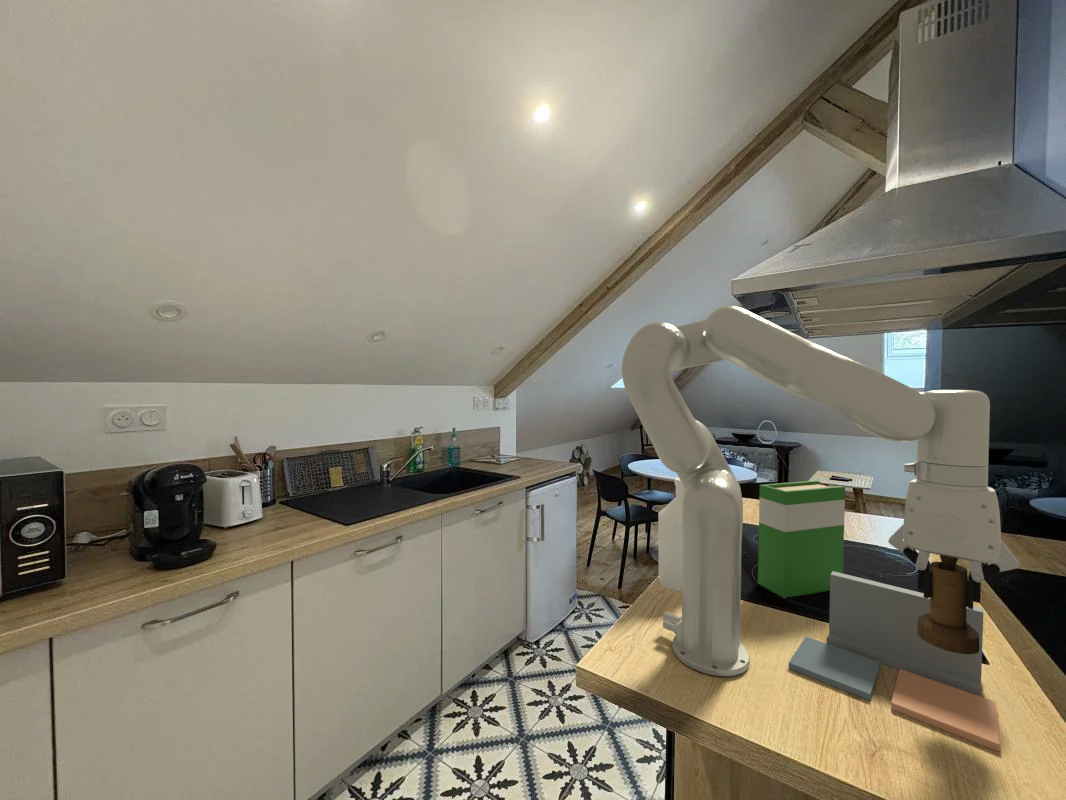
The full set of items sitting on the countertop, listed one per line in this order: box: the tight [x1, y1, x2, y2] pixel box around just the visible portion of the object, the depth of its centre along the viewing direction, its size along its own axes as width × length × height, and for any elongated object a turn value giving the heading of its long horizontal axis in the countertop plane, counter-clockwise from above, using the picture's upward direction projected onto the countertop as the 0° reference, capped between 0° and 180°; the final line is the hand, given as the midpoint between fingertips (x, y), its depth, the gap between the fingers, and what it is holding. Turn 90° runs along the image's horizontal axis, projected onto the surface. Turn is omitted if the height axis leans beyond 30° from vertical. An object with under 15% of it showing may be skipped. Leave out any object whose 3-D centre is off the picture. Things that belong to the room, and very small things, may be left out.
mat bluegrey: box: [788, 636, 881, 701], centre depth 75 cm, size 11×11×1 cm
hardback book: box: [757, 479, 846, 599], centre depth 106 cm, size 18×7×24 cm, turn 107°
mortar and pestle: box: [917, 555, 979, 654], centre depth 65 cm, size 7×6×18 cm
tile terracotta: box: [890, 669, 1001, 752], centre depth 66 cm, size 11×11×1 cm
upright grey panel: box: [826, 571, 984, 697], centre depth 77 cm, size 20×6×12 cm, turn 46°
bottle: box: [657, 476, 686, 593], centre depth 108 cm, size 12×12×25 cm
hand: (948, 598), depth 65 cm, fingers closed on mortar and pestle, 3 cm apart
